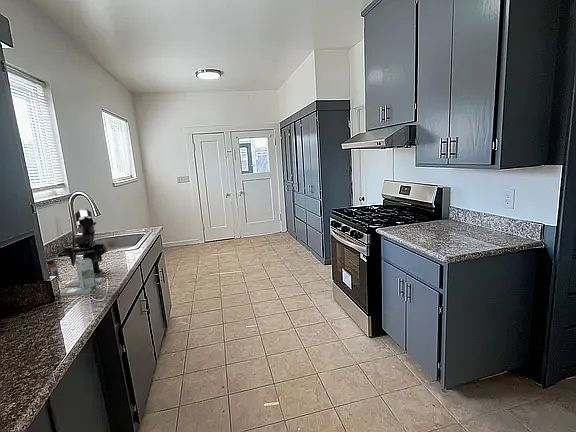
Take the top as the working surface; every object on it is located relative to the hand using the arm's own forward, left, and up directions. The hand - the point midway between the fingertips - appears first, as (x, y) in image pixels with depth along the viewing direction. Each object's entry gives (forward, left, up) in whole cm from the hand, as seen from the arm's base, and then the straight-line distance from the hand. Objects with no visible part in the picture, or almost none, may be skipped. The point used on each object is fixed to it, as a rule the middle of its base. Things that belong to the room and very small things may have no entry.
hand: (83, 264), depth 167 cm
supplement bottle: (-20, -28, -13) cm, 37 cm away
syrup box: (-2, 0, -13) cm, 13 cm away
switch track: (-1, -5, -13) cm, 14 cm away
